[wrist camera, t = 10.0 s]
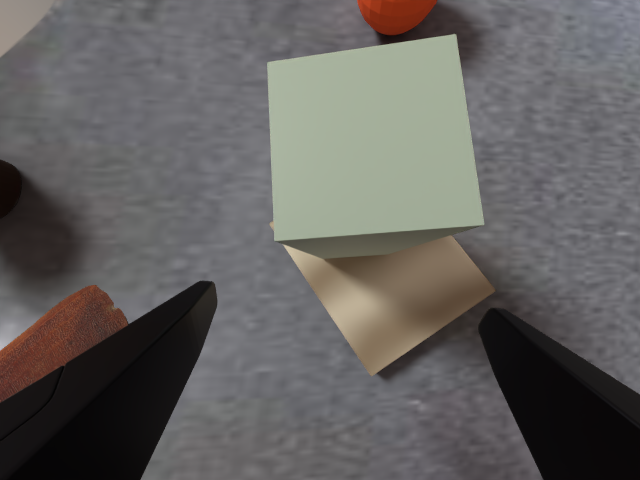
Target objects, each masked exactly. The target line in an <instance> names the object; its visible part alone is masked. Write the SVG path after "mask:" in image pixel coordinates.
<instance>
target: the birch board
mask: <svg viewBox="0 0 640 480" xmlns="http://www.w3.org/2000/svg"><path fill="white" fill-rule="evenodd" d="M269 224H270V226H271V227H272V229H273V230H274V221H272V222H271V223H269ZM283 245H284V244H283ZM284 247H285V248H286V250H287V251H288V253H289V254H290V256H291V257H292V259H293V260H294V262H295V263H296V265H297V266H298V268H299V269H300V271H301V272H302V274H303V275H304V277H305V278H306V280H307V281H308V283H309V284H310V286H311V287H312V289H313V290H314V292H315V293H316V295H317V296H318V298H319V299H320V301H321V302H322V304H323V305H324V307H325V308H326V310H327V311H328V313H329V314H330V316H331V317H332V319H333V320H334V322H335V323H336V325H337V326H338V328H339V329H340V331H341V332H342V334H343V335H344V337H345V338H346V340H347V341H348V343H349V344H350V345H351V347H352V348H353V350H354V351H355V353H356V354H357V356H358V357H359V359H360V360H361V362H362V363H363V365H364V366H365V368H366V369H367V371H368V372H369V374H370V375H371V376H373V375H374V374H376V373H377V372H379V371H380V370H381V369H383V368H384V367H386V366H387V365H389V364H390V363H392V362H393V361H395V360H396V359H397V358H399V357H400V356H402V355H403V354H405V353H406V352H408V351H409V350H411V349H412V348H413V347H415V346H416V345H418V344H419V343H421V342H422V341H424V340H425V339H427V338H428V337H429V336H431V335H432V334H434V333H435V332H437V331H438V330H440V329H441V328H443V327H444V326H445V325H447V324H448V323H450V322H451V321H453V320H454V319H456V318H457V317H459V316H460V315H461V314H463V313H464V312H466V311H467V310H469V309H470V308H472V307H473V306H475V305H476V304H477V303H479V302H480V301H482V300H483V299H485V298H486V297H488V296H489V295H491V294H492V293H493V292H495V291H496V290H495V289H494V287H493V286H492V285H491V284H490V282H489V281H488V280H487V279H486V277H485V276H484V275H483V274H482V272H481V271H480V270H479V269H478V267H477V266H476V265H475V264H474V262H473V261H472V260H471V259H470V258H469V256H468V255H467V254H466V253H465V251H464V250H463V249H462V248H461V246H460V245H459V244H458V243H457V241H456V240H455V239H454V238H453V236H452V235H450V236H447V237H443V238H440V239H437V240H433V241H430V242H427V243H424V244H420V245H417V246H414V247H411V248H407V249H404V250H401V251H397V252H394V253H391V254H388V255H374V256H359V257H345V258H330V259H321V258H319V257H316V256H313V255H311V254H308V253H305V252H303V251H300V250H297V249H295V248H292V247H289V246H287V245H284Z"/></svg>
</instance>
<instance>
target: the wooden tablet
mask: <svg viewBox="0 0 640 480" xmlns="http://www.w3.org/2000/svg"><path fill="white" fill-rule="evenodd" d="M127 325H128V323H127V320H126V318H125V316H124V314H123V312H122V311H121V309H119V308H114V303H113V302H112V300H111V299H110V297H109V296H108V295H107V293H105V292H104V291H102V290H101V289H99V288H98V287H97V286H96V285H91V286H87V287H85V288H83V289H81V290H80V291H78V292H76V293H74V294H72V295H70V296H68V297H67V298H65V299H64V300H63V301H61V302H60V303H58V304H57V305H56V306H55V307H53V308H52V309H51V310H49V311H48V312H47V313H46V314H45V315H44V316H43V317H41V318H40V319H39V320H38V321H37V322H36V323H34V324H33V325H32V326H31V327H29V328H28V329H27V330H26V331H25V332H23V333H22V334H21V335H20V336H18V337H17V338H16V339H15V340H13V341H12V342H11V343H10V344H8V345H7V346H6V347H4V348H3V349H2V350H1V351H0V402H2V401H4V400H5V399H7V398H9V397H10V396H12V395H14V394H15V393H17V392H19V391H20V390H22V389H24V388H25V387H27V386H29V385H30V384H32V383H34V382H35V381H37V380H39V379H40V378H42V377H44V376H45V375H47V374H49V373H50V372H52V371H53V370H55V369H57V368H58V367H60V366H65V364H66V363H67V362H68V361H70V360H72V359H73V358H75V357H76V356H78V355H80V354H81V353H83V352H85V351H86V350H88V349H90V348H91V347H93V346H94V345H96V344H98V343H99V342H101V341H103V340H104V339H106V338H107V337H109V336H111V335H112V334H114V333H116V332H117V331H119V330H120V329H122V328H124V327H125V326H127Z"/></svg>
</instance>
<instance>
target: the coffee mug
mask: <svg viewBox="0 0 640 480" xmlns="http://www.w3.org/2000/svg"><path fill="white" fill-rule="evenodd" d="M20 192H21V178H20V175H19V172H18V171H17V169H16V168H15V167H14V166H13V165H12V164H10V163H8V162H5V161H3V160H0V218H2V217H4V216H5V215H7V214H8V213H9V212H10V211H11V210H12V209H13V207H14V206H15V205H16V203H17V201H18V199H19V196H20Z"/></svg>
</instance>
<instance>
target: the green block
mask: <svg viewBox="0 0 640 480" xmlns="http://www.w3.org/2000/svg"><path fill="white" fill-rule="evenodd" d="M267 67H268V92H269V116H270V141H271V166H272V190H273V215H274V240H275V241H276V242H279V243H281V244H284V245H287V246H289V247H292V248H295V249H297V250H300V251H303V252H305V253H308V254H311V255H313V256H316V257H319V258H321V259H330V258H345V257H359V256H374V255H388V254H391V253H394V252H397V251H401V250H404V249H407V248H411V247H414V246H417V245H420V244H424V243H427V242H430V241H433V240H437V239H440V238H443V237H447V236H450V235H453V234H456V233H460V232H463V231H466V230H469V229H473V228H476V227H479V226H483V225H484V220H483V213H482V206H481V200H480V193H479V186H478V179H477V173H476V166H475V159H474V152H473V146H472V139H471V132H470V125H469V118H468V112H467V105H466V98H465V91H464V85H463V78H462V71H461V64H460V58H459V51H458V44H457V37H456V34H453V35H446V36H439V37H433V38H426V39H419V40H413V41H406V42H399V43H393V44H386V45H380V46H373V47H366V48H360V49H353V50H346V51H340V52H333V53H326V54H320V55H313V56H306V57H300V58H293V59H286V60H280V61H273V62H267Z"/></svg>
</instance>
